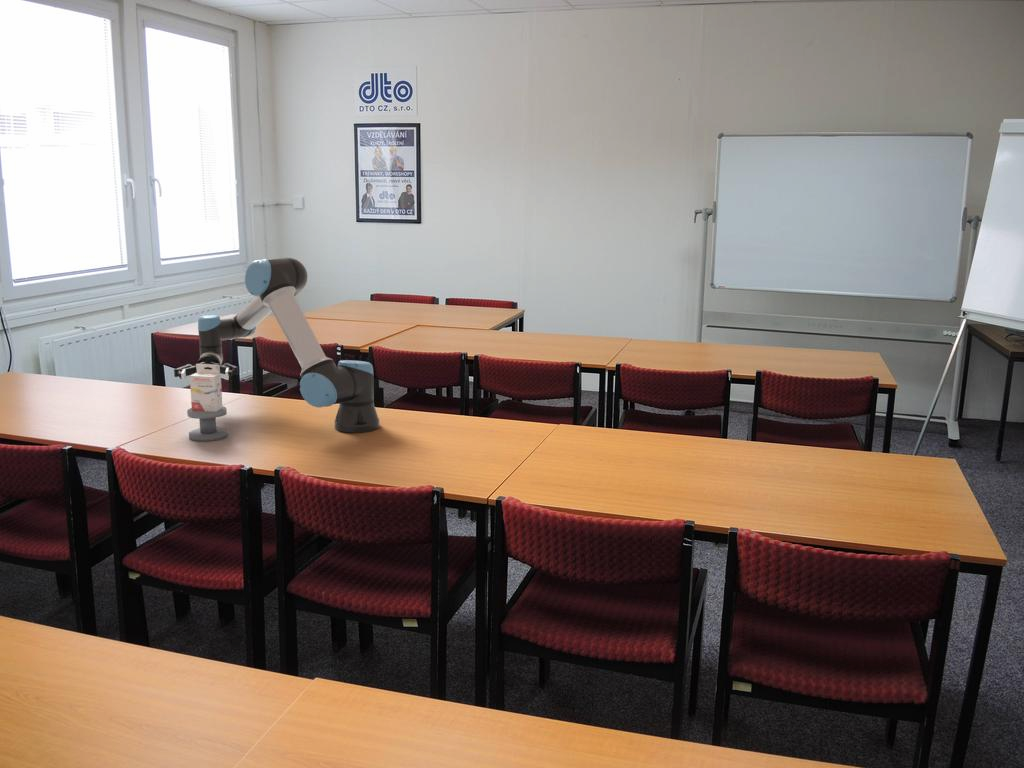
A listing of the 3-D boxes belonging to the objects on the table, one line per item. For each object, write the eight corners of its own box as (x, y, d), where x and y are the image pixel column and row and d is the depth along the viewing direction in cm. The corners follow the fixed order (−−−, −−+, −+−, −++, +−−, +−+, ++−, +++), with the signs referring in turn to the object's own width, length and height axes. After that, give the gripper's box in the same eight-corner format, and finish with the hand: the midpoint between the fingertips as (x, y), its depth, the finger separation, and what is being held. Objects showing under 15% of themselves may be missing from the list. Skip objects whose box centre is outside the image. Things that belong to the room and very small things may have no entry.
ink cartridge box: (191, 410, 268) (187, 366, 265) (198, 407, 273) (195, 363, 270) (216, 412, 267) (213, 367, 264) (223, 408, 272) (220, 364, 269)
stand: (235, 434, 275) (234, 407, 273) (209, 443, 264) (207, 416, 262) (208, 429, 280) (206, 403, 278) (180, 438, 269) (178, 411, 267)
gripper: (247, 373, 295) (245, 386, 275) (172, 376, 289) (164, 389, 269) (246, 352, 294) (244, 364, 274) (170, 354, 287) (162, 366, 267)
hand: (204, 376), depth 271 cm, fingers open, 13 cm apart
